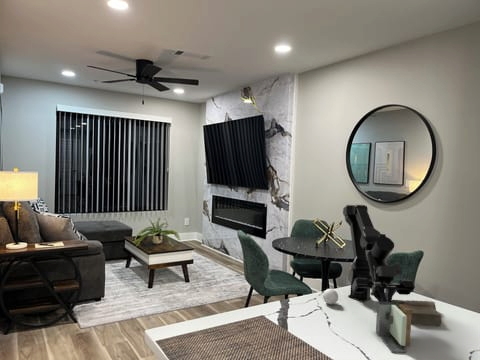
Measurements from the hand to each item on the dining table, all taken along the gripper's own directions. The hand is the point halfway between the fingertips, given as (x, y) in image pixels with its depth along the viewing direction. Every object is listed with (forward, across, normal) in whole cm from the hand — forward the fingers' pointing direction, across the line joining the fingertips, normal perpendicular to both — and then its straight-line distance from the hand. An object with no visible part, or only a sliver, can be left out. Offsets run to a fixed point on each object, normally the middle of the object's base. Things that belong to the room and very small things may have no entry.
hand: (388, 311), depth 112 cm
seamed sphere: (-10, -13, +19) cm, 25 cm away
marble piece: (-4, +16, +14) cm, 22 cm away
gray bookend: (+9, 0, 0) cm, 9 cm away
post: (+9, +2, 0) cm, 10 cm away
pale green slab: (+9, -1, -2) cm, 9 cm away
